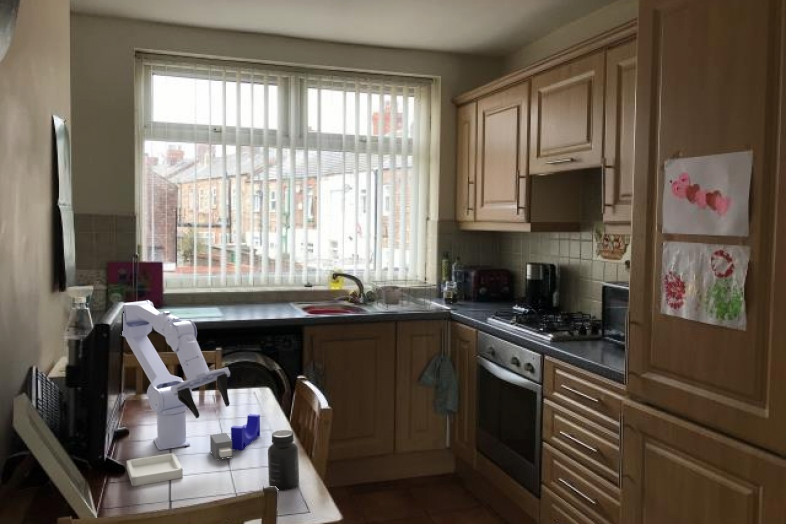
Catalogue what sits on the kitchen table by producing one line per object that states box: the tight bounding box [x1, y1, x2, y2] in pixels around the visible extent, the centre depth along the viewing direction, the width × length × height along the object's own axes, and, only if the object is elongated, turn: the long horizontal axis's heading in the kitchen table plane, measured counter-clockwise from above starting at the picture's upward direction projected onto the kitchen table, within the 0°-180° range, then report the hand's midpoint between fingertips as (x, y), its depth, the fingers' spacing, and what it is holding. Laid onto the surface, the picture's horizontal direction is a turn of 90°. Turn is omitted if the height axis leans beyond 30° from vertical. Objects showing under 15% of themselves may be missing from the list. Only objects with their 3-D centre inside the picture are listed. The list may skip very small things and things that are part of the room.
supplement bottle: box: [267, 429, 300, 492], centre depth 149 cm, size 7×7×12 cm
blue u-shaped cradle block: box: [230, 413, 261, 451], centre depth 178 cm, size 12×4×6 cm, turn 169°
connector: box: [209, 432, 233, 461], centre depth 168 cm, size 9×4×4 cm, turn 27°
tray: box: [126, 452, 184, 487], centre depth 156 cm, size 12×11×2 cm
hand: (213, 410), depth 162 cm, fingers open, 7 cm apart
